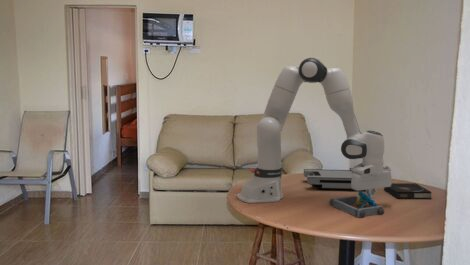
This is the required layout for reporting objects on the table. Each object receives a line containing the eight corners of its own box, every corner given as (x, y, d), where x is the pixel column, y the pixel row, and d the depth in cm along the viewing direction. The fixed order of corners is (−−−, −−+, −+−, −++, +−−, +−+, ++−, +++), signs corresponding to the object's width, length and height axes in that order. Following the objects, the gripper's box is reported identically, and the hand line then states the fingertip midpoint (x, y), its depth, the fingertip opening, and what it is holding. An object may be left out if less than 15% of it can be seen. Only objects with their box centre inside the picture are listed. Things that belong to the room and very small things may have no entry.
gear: (382, 207, 184) (367, 191, 183) (374, 217, 183) (358, 202, 182) (369, 203, 195) (355, 188, 194) (361, 213, 194) (346, 198, 193)
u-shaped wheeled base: (359, 218, 175) (359, 211, 175) (329, 204, 194) (329, 198, 193) (384, 214, 181) (384, 207, 180) (353, 201, 199) (353, 195, 199)
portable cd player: (397, 200, 203) (397, 192, 203) (383, 190, 220) (384, 183, 220) (431, 200, 204) (431, 192, 203) (415, 190, 221) (415, 183, 220)
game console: (303, 181, 238) (304, 166, 237) (361, 182, 237) (362, 168, 236) (307, 191, 218) (308, 175, 217) (371, 192, 216) (372, 176, 215)
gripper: (385, 164, 195) (383, 194, 197) (349, 168, 187) (348, 198, 189) (395, 167, 190) (394, 197, 191) (359, 170, 181) (357, 202, 183)
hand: (371, 198), depth 190 cm, fingers closed
